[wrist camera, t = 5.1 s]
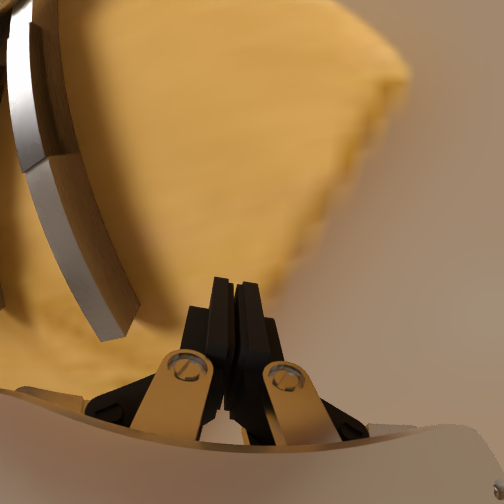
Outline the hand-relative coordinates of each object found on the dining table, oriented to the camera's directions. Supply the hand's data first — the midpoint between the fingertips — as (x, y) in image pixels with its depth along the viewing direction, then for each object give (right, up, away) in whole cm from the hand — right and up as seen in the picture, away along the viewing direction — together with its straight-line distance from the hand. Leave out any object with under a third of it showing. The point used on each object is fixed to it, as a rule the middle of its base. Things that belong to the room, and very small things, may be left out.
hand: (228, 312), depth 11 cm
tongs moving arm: (-9, +9, 0) cm, 13 cm away
